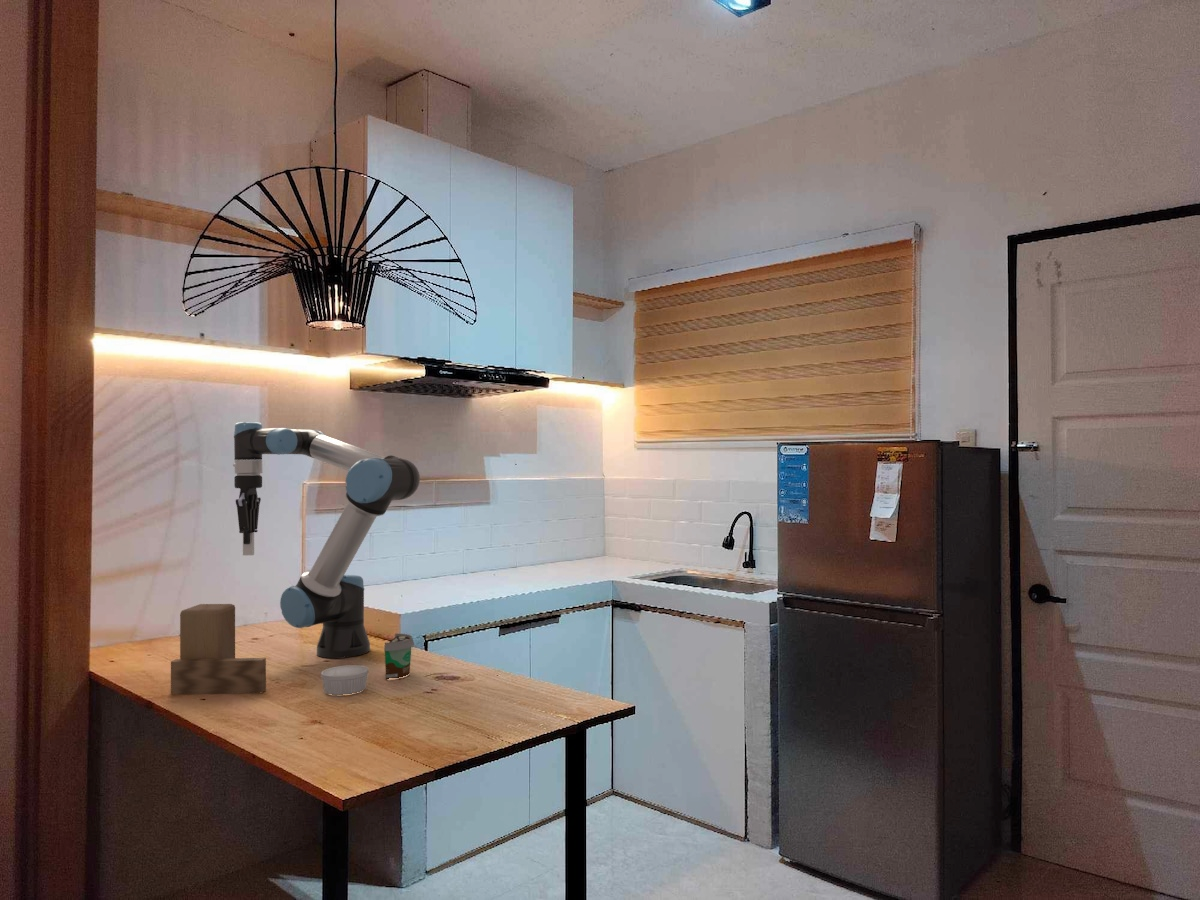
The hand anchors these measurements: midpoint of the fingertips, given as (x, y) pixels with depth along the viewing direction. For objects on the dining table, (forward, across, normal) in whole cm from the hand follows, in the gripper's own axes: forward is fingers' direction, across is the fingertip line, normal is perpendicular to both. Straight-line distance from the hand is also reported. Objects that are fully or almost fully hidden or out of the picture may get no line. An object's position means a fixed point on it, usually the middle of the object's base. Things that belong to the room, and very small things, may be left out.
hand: (248, 555), depth 243 cm
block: (+30, +33, +3) cm, 44 cm away
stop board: (+29, +39, +8) cm, 50 cm away
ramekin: (+30, +40, +39) cm, 63 cm away
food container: (+30, +26, +50) cm, 64 cm away
